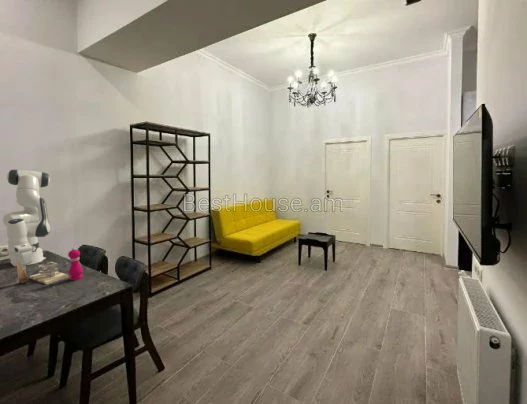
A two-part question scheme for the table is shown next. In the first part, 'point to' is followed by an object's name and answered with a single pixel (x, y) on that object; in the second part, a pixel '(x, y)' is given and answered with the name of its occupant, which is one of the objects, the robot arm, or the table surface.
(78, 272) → the pepper mill
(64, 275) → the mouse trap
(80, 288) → the table surface
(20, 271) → the brown rounded cylinder
